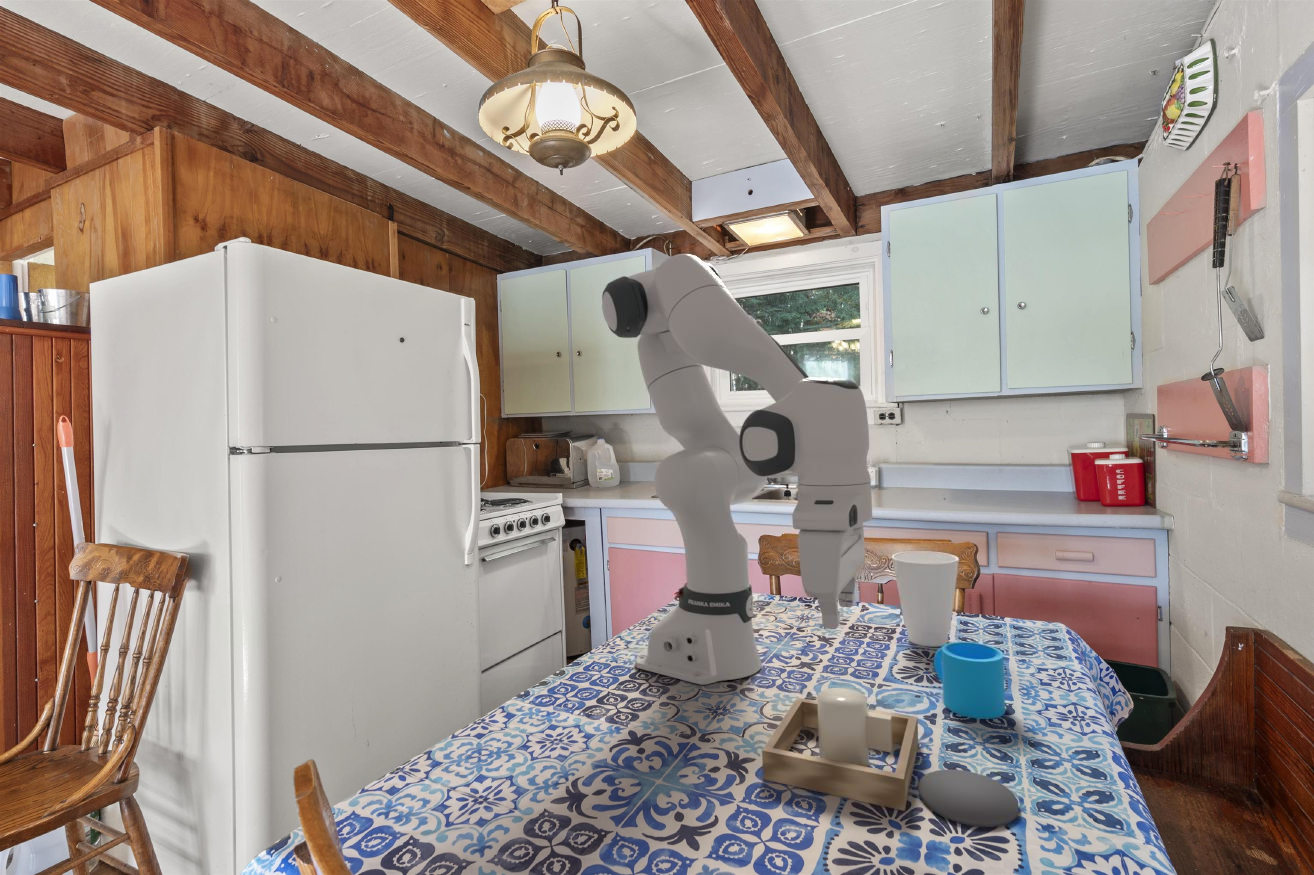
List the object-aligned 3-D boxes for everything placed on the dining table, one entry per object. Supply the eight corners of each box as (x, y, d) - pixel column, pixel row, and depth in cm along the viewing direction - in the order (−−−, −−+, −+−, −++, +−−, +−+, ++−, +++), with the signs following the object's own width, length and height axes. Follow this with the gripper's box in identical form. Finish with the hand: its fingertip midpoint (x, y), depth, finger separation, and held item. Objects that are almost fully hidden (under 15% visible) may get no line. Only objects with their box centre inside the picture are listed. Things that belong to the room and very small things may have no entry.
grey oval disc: (914, 813, 69) (914, 807, 69) (922, 767, 78) (922, 762, 78) (1020, 836, 65) (1020, 831, 65) (1016, 785, 73) (1016, 780, 73)
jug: (814, 767, 79) (812, 703, 79) (825, 745, 84) (823, 685, 84) (889, 783, 75) (887, 715, 75) (895, 758, 80) (893, 695, 80)
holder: (763, 779, 77) (762, 750, 77) (797, 721, 91) (796, 697, 91) (904, 810, 70) (903, 779, 70) (918, 743, 84) (917, 716, 84)
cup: (893, 647, 119) (890, 562, 119) (895, 627, 130) (893, 549, 130) (963, 653, 114) (960, 565, 114) (960, 633, 125) (957, 551, 125)
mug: (1018, 713, 91) (1017, 656, 91) (971, 723, 89) (969, 664, 89) (957, 682, 103) (956, 631, 102) (914, 689, 100) (912, 638, 100)
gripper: (827, 496, 90) (831, 593, 91) (787, 516, 72) (793, 638, 72) (874, 496, 88) (878, 596, 88) (844, 517, 69) (850, 644, 70)
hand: (839, 616), depth 80 cm, fingers open, 8 cm apart
